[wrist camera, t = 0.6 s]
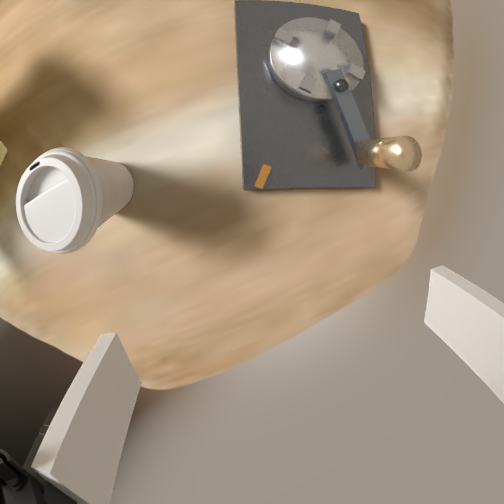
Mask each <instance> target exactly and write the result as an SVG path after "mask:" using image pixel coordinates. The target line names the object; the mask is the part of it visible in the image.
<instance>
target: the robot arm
mask: <svg viewBox="0 0 504 504" xmlns="http://www.w3.org/2000/svg"><path fill="white" fill-rule="evenodd" d="M424 323H425V324H426V325H427V326H428V327H429V328H431V329H432V330H433V331H434V332H435V333H436V334H437V335H438V336H439V337H440V338H441V339H442V340H443V341H444V342H445V343H446V344H447V345H448V346H449V347H450V348H451V349H452V350H453V351H455V353H456V354H457V355H458V356H459V357H460V358H461V359H462V360H464V362H465V363H466V364H467V365H468V366H469V367H470V368H471V369H472V370H473V371H474V372H475V373H476V374H477V375H478V376H479V377H480V378H481V379H482V380H483V381H484V382H485V384H486V385H487V386H488V387H489V388H490V389H491V390H492V391H493V392H494V393H495V394H496V395H497V397H498V398H499V399H500V400H501V401H502V402H503V403H504V303H502V302H501V301H499V300H498V299H496V298H495V297H493V296H491V295H490V294H489V293H487V292H486V291H484V290H483V289H481V288H479V287H478V286H476V285H474V284H473V283H471V282H470V281H468V280H467V279H465V278H463V277H462V276H460V275H458V274H457V273H455V272H453V271H452V270H450V269H448V268H447V267H445V266H439V267H436V268H433V269H431V274H430V283H429V292H428V300H427V307H426V313H425V319H424ZM140 386H141V381H140V379H139V377H138V375H137V373H136V372H135V370H134V368H133V366H132V364H131V362H130V360H129V358H128V356H127V354H126V352H125V350H124V348H123V346H122V343H121V341H120V339H119V337H118V335H117V333H107V334H101V335H100V337H99V338H98V340H97V341H96V343H95V345H94V346H93V348H92V350H91V351H90V353H89V355H88V356H87V358H86V360H85V361H84V363H83V365H82V366H81V368H80V370H79V372H78V373H77V375H76V377H75V379H74V380H73V382H72V384H71V386H70V388H69V389H68V391H67V393H66V395H65V397H64V399H63V400H62V402H61V404H57V405H56V406H55V407H54V408H53V409H52V410H51V411H50V413H49V414H48V416H47V418H46V420H45V422H44V423H43V424H44V426H42V427H41V429H40V432H39V435H37V438H36V440H35V442H34V444H33V446H32V448H31V450H30V452H29V455H28V457H27V459H26V461H25V464H24V466H23V467H21V466H20V465H19V464H18V463H17V462H16V461H15V460H14V459H13V458H12V457H11V456H10V455H9V454H7V452H6V451H5V450H1V449H0V504H77V503H79V504H110V500H111V495H112V490H113V486H114V481H115V477H116V472H117V469H118V464H119V460H120V456H121V452H122V449H123V445H124V441H125V437H126V434H127V430H128V426H129V423H130V419H131V416H132V412H133V409H134V405H135V402H136V399H137V396H138V392H139V389H140Z"/></svg>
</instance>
